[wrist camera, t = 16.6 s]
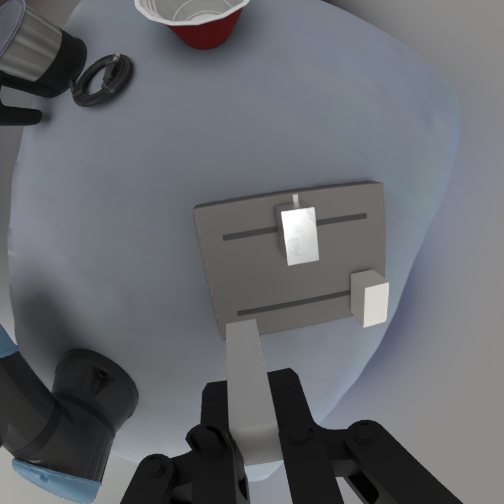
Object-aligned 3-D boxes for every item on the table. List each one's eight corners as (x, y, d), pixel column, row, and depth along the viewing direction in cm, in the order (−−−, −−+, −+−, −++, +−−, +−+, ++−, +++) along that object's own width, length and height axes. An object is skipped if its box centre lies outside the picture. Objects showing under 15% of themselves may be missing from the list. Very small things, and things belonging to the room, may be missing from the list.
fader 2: (350, 310, 32) (363, 327, 28) (350, 274, 31) (364, 288, 27) (371, 305, 32) (386, 321, 28) (372, 269, 31) (389, 282, 27)
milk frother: (37, 54, 21) (-26, 28, 7) (132, 10, 22) (90, -51, 8) (37, 139, 26) (-42, 139, 12) (137, 98, 26) (74, 57, 12)
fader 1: (280, 252, 29) (287, 265, 25) (274, 205, 28) (281, 212, 24) (307, 248, 29) (319, 260, 25) (303, 201, 28) (314, 207, 24)
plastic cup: (147, 62, 25) (109, 18, 13) (180, -4, 22) (163, -59, 10) (235, 79, 26) (237, 32, 15) (263, 11, 24) (277, -47, 12)
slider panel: (222, 327, 35) (222, 341, 32) (196, 205, 30) (192, 209, 27) (373, 297, 36) (383, 308, 33) (370, 181, 31) (383, 182, 28)
